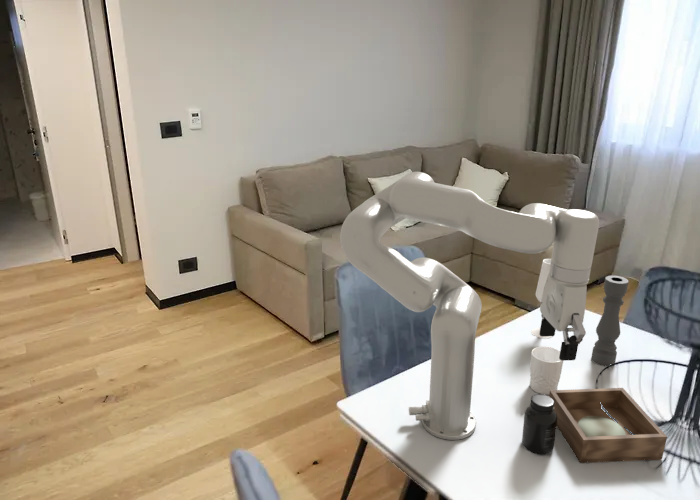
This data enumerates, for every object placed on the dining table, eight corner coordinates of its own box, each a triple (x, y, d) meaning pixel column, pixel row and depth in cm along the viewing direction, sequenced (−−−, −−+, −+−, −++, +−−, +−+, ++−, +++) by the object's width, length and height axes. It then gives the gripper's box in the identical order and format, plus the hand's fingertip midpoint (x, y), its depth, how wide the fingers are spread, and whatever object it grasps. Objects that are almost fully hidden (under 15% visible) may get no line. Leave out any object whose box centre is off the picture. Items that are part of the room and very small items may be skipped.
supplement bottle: (549, 436, 125) (555, 391, 121) (557, 457, 119) (563, 410, 115) (518, 434, 126) (523, 390, 122) (524, 455, 119) (530, 408, 115)
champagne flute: (538, 326, 175) (547, 255, 167) (557, 333, 171) (567, 261, 162) (526, 332, 171) (534, 261, 163) (545, 340, 167) (555, 267, 158)
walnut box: (580, 463, 117) (583, 440, 115) (547, 411, 134) (549, 390, 132) (661, 459, 118) (667, 436, 116) (618, 408, 135) (622, 387, 132)
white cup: (538, 398, 139) (543, 364, 135) (521, 381, 146) (525, 348, 142) (565, 393, 141) (570, 359, 137) (547, 377, 148) (551, 344, 144)
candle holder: (618, 366, 153) (633, 284, 144) (596, 366, 153) (610, 284, 144) (609, 355, 158) (623, 275, 150) (587, 354, 159) (600, 275, 150)
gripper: (534, 256, 117) (523, 327, 123) (571, 290, 100) (557, 370, 106) (567, 256, 117) (556, 327, 123) (610, 289, 101) (594, 369, 107)
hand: (556, 347), depth 115 cm, fingers open, 9 cm apart
